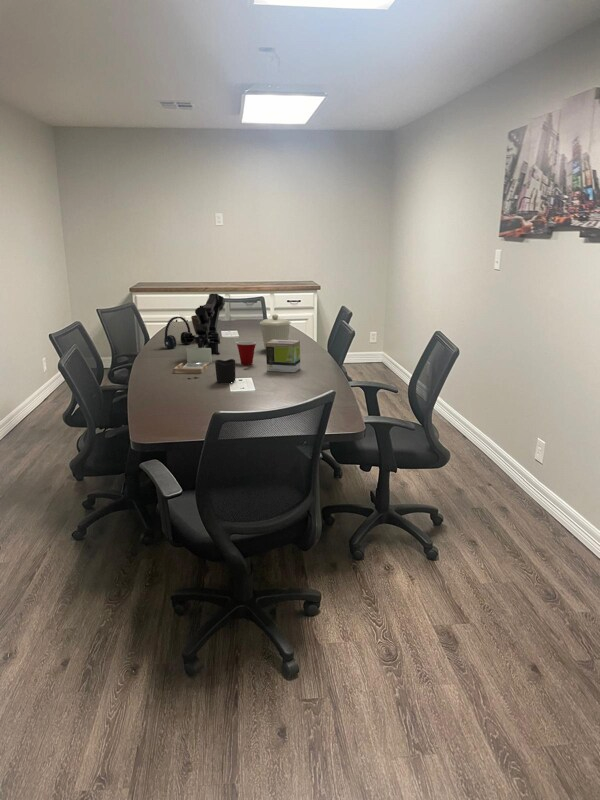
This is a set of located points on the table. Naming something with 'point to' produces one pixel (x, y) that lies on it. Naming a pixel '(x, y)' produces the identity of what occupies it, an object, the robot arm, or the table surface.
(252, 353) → the plastic cup
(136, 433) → the table surface
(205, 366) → the housing
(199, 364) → the disc
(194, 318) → the plant pot
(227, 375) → the pen holder
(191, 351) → the drawer
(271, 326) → the canister
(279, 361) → the tea box
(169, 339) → the headphones
